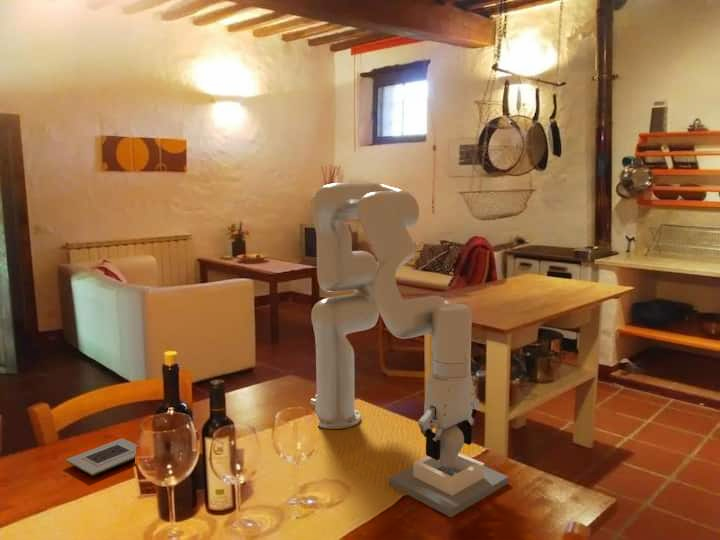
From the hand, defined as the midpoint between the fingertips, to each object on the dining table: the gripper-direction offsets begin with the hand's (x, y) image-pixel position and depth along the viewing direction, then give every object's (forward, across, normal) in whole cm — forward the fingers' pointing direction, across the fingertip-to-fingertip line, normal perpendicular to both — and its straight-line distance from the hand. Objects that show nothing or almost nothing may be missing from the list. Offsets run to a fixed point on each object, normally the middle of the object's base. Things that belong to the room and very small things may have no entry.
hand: (449, 449), depth 120 cm
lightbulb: (+6, 0, 0) cm, 6 cm away
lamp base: (+7, 0, 0) cm, 7 cm away
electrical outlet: (+8, +47, -56) cm, 74 cm away
